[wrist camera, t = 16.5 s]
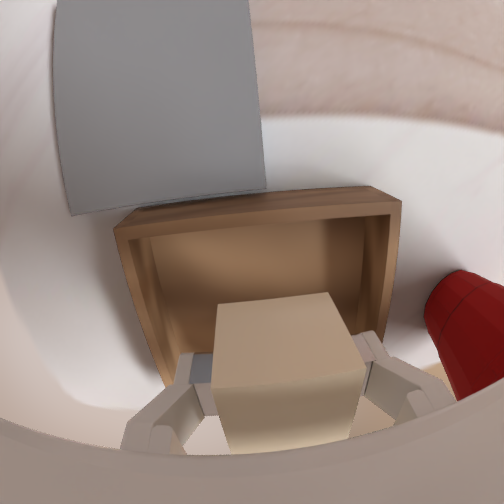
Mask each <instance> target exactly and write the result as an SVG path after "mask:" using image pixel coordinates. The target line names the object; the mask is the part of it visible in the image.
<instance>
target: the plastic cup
mask: <svg viewBox="0 0 504 504" xmlns="http://www.w3.org/2000/svg"><path fill="white" fill-rule="evenodd" d="M424 319H425V323H426V326H427V330H428V332H429V334H430V336H431V338H432V340H433V342H434V344H435V346H436V348H437V350H438V354H439V358H440V360H441V362H442V365H443V367H444V369H445V372H446V374H447V376H448V379H449V381H450V384H451V386H452V389H453V391H454V394H455V397H456V399H457V401H459V400H461V399H464V398H466V397H468V396H470V395H472V394H474V393H476V392H478V391H480V390H482V389H484V388H486V387H488V386H489V385H491V384H493V383H495V382H497V381H498V380H500V379H502V378H504V286H502V285H500V284H497V283H493V282H491V281H489V280H487V279H485V278H483V277H481V276H479V275H477V274H475V273H471V272H467V271H463V270H460V271H456V272H453V273H451V274H449V275H448V276H447V277H445V278H444V279H443V280H441V281H440V283H439V284H438V285H437V286H436V288H435V289H434V290H433V291H432V293H431V295H430V297H429V299H428V301H427V303H426V306H425V312H424Z"/></svg>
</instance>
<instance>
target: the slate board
mask: <svg viewBox="0 0 504 504" xmlns="http://www.w3.org/2000/svg"><path fill="white" fill-rule="evenodd" d="M53 87H54V107H55V119H56V130H57V139H58V147H59V154H60V161H61V167H62V173H63V179H64V184H65V189H66V194H67V199H68V204H69V208H70V213H71V216H75V215H80V214H86V213H91V212H96V211H102V210H107V209H113V208H119V207H125V206H131V205H137V204H144V203H150V202H157V201H164V200H171V199H178V198H186V197H194V196H202V195H210V194H219V193H228V192H238V191H248V190H258V189H266V178H265V165H264V153H263V142H262V130H261V119H260V108H259V97H258V87H257V77H256V67H255V57H254V47H253V38H252V28H251V19H250V11H249V2H248V0H57V7H56V17H55V29H54V47H53Z"/></svg>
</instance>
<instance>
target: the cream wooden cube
mask: <svg viewBox="0 0 504 504" xmlns="http://www.w3.org/2000/svg"><path fill="white" fill-rule="evenodd" d="M366 369H367V367H366V365H365V363H364V361H363V359H362V357H361V355H360V353H359V351H358V349H357V347H356V345H355V343H354V341H353V339H352V337H351V335H350V333H349V331H348V329H347V327H346V325H345V323H344V322H343V320H342V318H341V316H340V314H339V312H338V310H337V308H336V306H335V304H334V302H333V301H332V299H331V297H330V295H329V293H328V292H324V293H316V294H308V295H300V296H292V297H284V298H275V299H266V300H256V301H246V302H236V303H225V304H218V307H217V317H216V329H215V340H214V352H213V364H212V377H211V392H212V395H213V398H214V402H215V405H216V408H217V411H218V415H219V418H220V421H221V424H222V427H223V430H224V433H225V436H226V440H227V443H228V445H229V448H230V451H231V454H232V455H233V454H250V453H262V452H272V451H281V450H289V449H296V448H302V447H309V446H314V445H320V444H325V443H330V442H335V441H340V440H344V439H348V436H349V433H350V429H351V426H352V423H353V419H354V416H355V412H356V409H357V405H358V401H359V397H360V394H361V390H362V386H363V382H364V378H365V373H366Z"/></svg>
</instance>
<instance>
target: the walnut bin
mask: <svg viewBox="0 0 504 504" xmlns="http://www.w3.org/2000/svg"><path fill="white" fill-rule="evenodd" d="M401 208H402V201H401V200H399V199H397V198H395V197H393V196H391V195H388V194H386V193H384V192H382V191H380V190H378V189H376V188H374V187H372V186H358V187H337V188H319V189H304V190H290V191H278V192H266V193H255V194H245V195H235V196H225V197H216V198H208V199H199V200H191V201H184V202H176V203H169V204H161V205H155V206H148V207H141V208H137V209H136V210H134V211H133V212H132V213H131V214H130V215H128V216H127V217H126V218H125V219H124V220H123V221H122V222H120V223H119V224H118V225H117V226H116V227H115V228H114V229H113V230H114V235H115V239H116V243H117V247H118V251H119V254H120V258H121V262H122V266H123V269H124V273H125V276H126V280H127V283H128V286H129V290H130V293H131V296H132V299H133V302H134V306H135V309H136V312H137V315H138V318H139V320H140V323H141V326H142V329H143V332H144V335H145V337H146V340H147V343H148V346H149V348H150V351H151V353H152V356H153V359H154V361H155V364H156V366H157V369H158V371H159V373H160V376H161V378H162V381H163V383H164V385H165V388H166V387H167V386H169V385H173V383H174V379H175V374H176V369H177V364H178V360H179V356H180V354H181V353H195V352H214V340H215V329H216V317H217V307H218V304H225V303H236V302H246V301H256V300H266V299H275V298H284V297H292V296H300V295H308V294H316V293H324V292H328V293H329V295H330V297H331V299H332V301H333V302H334V304H335V306H336V308H337V310H338V312H339V314H340V316H341V318H342V320H343V322H344V323H345V325H346V327H347V329H348V331H349V333H350V335H353V334H358V333H362V332H366V331H371V330H373V331H374V332H375V333H376V335H377V337H378V338H379V340H380V341H381V343H382V342H383V337H384V333H385V328H386V323H387V318H388V313H389V308H390V302H391V296H392V290H393V284H394V277H395V270H396V262H397V254H398V245H399V234H400V223H401Z"/></svg>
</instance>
